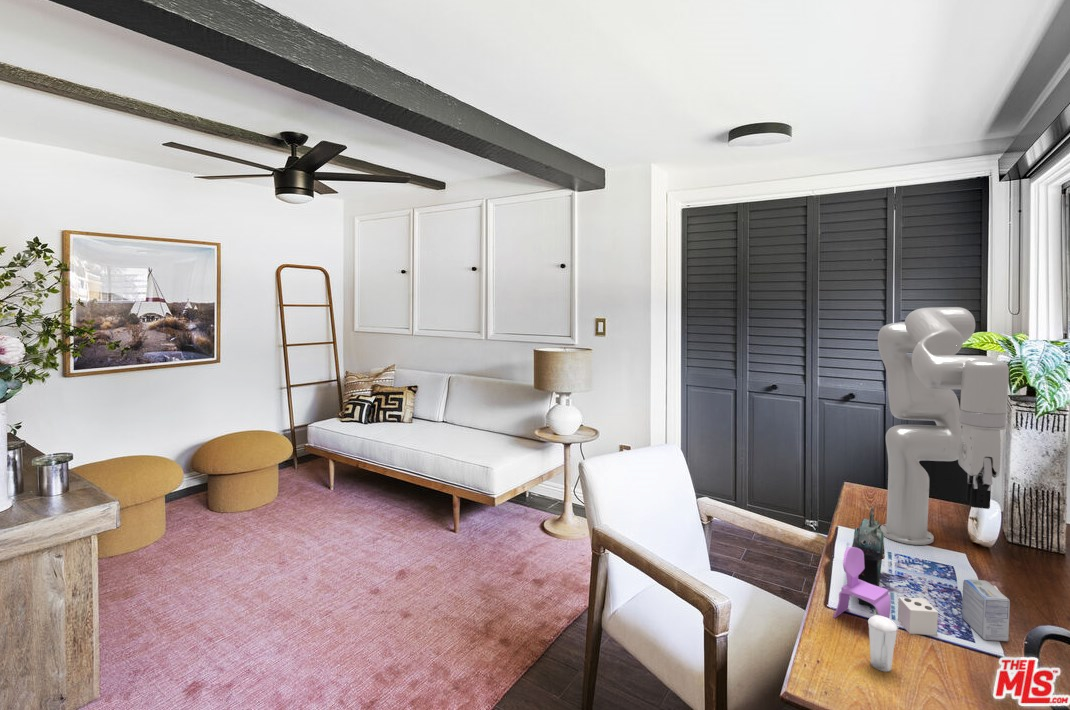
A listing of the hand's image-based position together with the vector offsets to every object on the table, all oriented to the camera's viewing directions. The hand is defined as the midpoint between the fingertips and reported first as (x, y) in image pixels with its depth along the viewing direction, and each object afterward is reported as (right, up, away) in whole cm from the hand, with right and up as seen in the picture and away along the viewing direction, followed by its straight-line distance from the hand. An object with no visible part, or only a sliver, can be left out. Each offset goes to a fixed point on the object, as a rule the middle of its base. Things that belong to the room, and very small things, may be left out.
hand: (977, 504), depth 117 cm
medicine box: (-3, -24, -5) cm, 25 cm away
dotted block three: (-15, -24, -4) cm, 29 cm away
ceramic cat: (-17, -23, +12) cm, 30 cm away
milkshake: (-30, -26, -16) cm, 42 cm away
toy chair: (-25, -24, -1) cm, 35 cm away
